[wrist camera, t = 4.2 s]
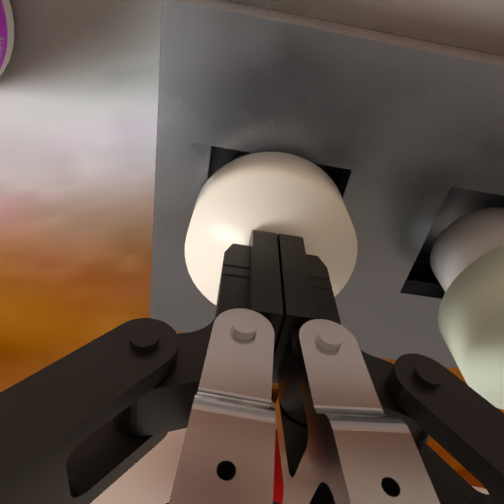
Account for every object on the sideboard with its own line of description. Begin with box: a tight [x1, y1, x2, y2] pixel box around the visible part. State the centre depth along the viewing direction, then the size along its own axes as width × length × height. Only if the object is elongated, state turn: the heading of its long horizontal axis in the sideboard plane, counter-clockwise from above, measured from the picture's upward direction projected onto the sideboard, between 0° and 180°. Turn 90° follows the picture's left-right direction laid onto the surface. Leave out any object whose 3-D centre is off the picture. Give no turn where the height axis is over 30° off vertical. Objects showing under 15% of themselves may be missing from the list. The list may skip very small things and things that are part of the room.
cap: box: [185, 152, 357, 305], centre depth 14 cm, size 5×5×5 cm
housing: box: [150, 0, 504, 368], centre depth 17 cm, size 24×12×6 cm, turn 80°
